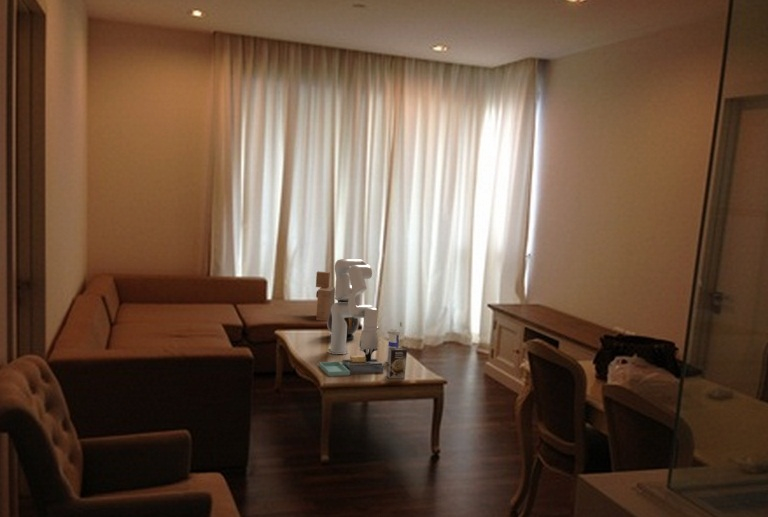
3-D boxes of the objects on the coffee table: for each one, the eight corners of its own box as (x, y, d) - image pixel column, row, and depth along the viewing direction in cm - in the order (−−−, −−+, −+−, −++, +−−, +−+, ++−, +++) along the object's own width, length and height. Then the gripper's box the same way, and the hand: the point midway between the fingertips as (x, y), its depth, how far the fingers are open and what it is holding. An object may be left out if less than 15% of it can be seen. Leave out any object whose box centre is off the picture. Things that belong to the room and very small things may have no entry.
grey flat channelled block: (341, 367, 390) (342, 358, 390) (374, 365, 398) (375, 357, 397) (349, 373, 377) (350, 365, 377) (383, 372, 385) (383, 364, 384)
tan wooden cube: (349, 362, 386) (350, 355, 386) (356, 362, 388) (356, 355, 387) (352, 364, 383) (352, 357, 382) (358, 364, 384) (359, 357, 384)
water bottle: (390, 359, 415) (393, 319, 413) (401, 362, 410) (404, 321, 407) (382, 361, 409) (385, 320, 406) (393, 364, 404) (396, 323, 401)
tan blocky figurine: (315, 315, 538) (318, 271, 534) (333, 316, 537) (335, 272, 533) (310, 319, 519) (313, 274, 516) (329, 321, 518) (332, 275, 514)
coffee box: (389, 378, 374) (391, 350, 372) (386, 375, 380) (388, 347, 378) (405, 378, 376) (407, 349, 375) (401, 375, 382) (403, 347, 381)
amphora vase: (356, 342, 454) (359, 301, 451) (324, 340, 454) (327, 299, 451) (358, 335, 475) (361, 296, 472) (327, 333, 475) (330, 294, 472)
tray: (318, 366, 388) (318, 362, 388) (338, 365, 393) (339, 361, 393) (328, 376, 370) (329, 371, 370) (349, 375, 374) (350, 371, 374)
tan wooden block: (356, 362, 387) (357, 355, 387) (363, 362, 389) (363, 355, 389) (358, 364, 384) (359, 357, 383) (365, 364, 385) (366, 357, 385)
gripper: (379, 327, 392) (377, 358, 394) (355, 327, 387) (353, 359, 388) (384, 330, 385) (382, 362, 387) (359, 330, 380) (357, 362, 382)
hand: (367, 360), depth 388 cm, fingers closed
